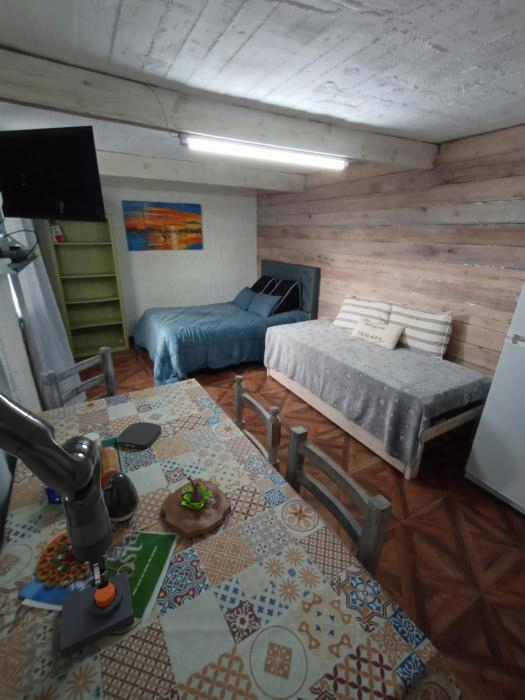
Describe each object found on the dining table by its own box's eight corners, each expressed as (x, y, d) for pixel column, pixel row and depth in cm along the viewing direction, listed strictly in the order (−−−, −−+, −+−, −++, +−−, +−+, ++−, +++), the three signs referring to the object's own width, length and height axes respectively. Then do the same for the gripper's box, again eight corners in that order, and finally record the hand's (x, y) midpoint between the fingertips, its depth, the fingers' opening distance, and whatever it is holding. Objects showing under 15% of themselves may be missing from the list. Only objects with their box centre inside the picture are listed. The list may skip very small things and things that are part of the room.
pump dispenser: (96, 521, 95) (88, 482, 90) (122, 496, 105) (115, 459, 99) (123, 532, 92) (116, 492, 87) (147, 505, 101) (142, 467, 96)
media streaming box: (164, 429, 140) (163, 424, 139) (147, 450, 127) (146, 444, 126) (134, 425, 142) (133, 420, 141) (114, 446, 129) (113, 439, 128)
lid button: (96, 611, 70) (95, 605, 69) (95, 593, 73) (94, 587, 72) (116, 601, 71) (114, 595, 71) (114, 585, 75) (113, 579, 74)
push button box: (62, 658, 65) (58, 645, 63) (64, 606, 74) (60, 593, 72) (134, 622, 71) (132, 609, 70) (128, 577, 80) (126, 565, 79)
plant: (188, 550, 88) (186, 520, 84) (152, 510, 100) (148, 482, 96) (241, 508, 101) (240, 480, 98) (203, 477, 114) (202, 451, 110)
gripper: (69, 511, 68) (84, 566, 74) (67, 564, 57) (84, 624, 64) (107, 498, 72) (118, 552, 78) (112, 546, 61) (124, 605, 67)
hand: (103, 585), depth 71 cm, fingers closed
